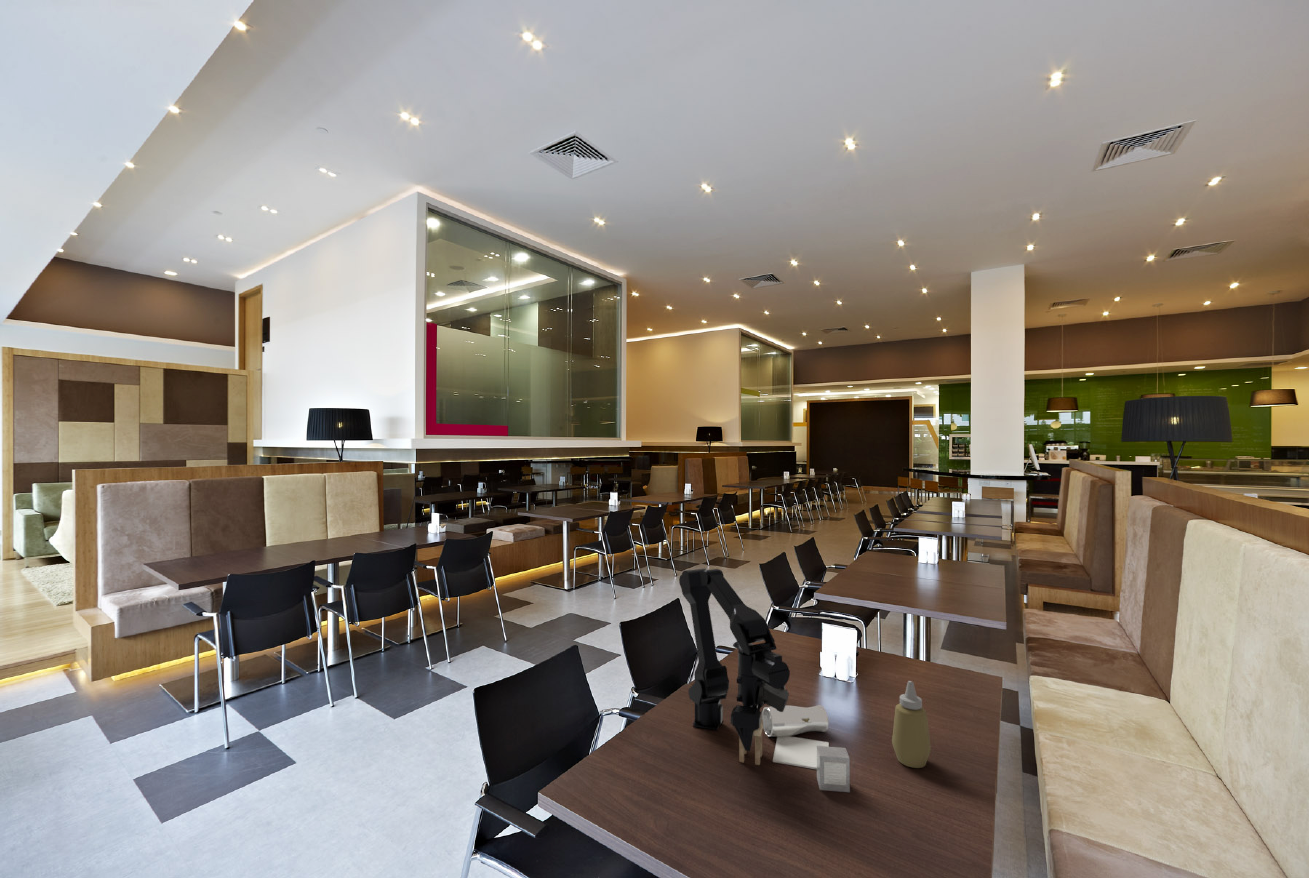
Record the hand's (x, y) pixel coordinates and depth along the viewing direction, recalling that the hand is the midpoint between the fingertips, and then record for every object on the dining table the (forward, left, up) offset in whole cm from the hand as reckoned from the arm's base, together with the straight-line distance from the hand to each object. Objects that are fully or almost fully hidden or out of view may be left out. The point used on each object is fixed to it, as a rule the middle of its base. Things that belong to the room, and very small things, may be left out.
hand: (750, 740), depth 127 cm
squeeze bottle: (+35, +10, -4) cm, 37 cm away
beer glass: (+16, +19, -1) cm, 24 cm away
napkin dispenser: (+18, -5, -4) cm, 19 cm away
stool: (0, 0, -4) cm, 4 cm away
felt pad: (+11, +6, -4) cm, 13 cm away
